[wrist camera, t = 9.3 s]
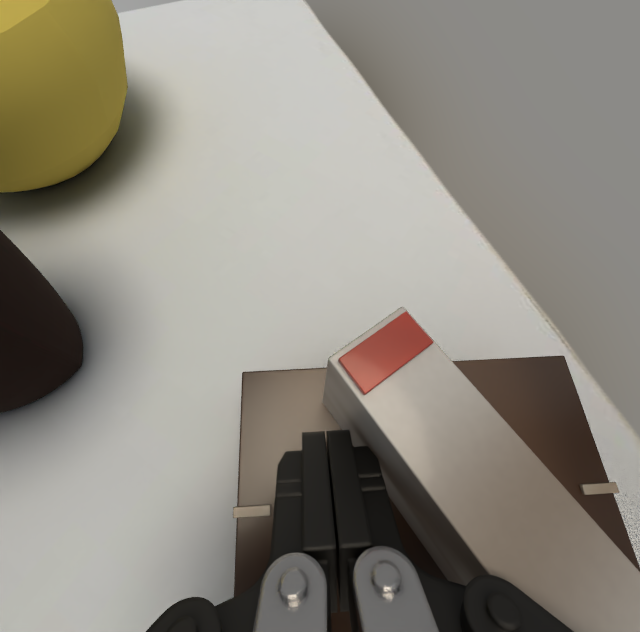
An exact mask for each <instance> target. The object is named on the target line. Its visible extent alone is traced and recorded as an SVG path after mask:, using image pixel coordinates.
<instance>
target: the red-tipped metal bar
mask: <svg viewBox="0 0 640 632" xmlns="http://www.w3.org/2000/svg"><path fill="white" fill-rule="evenodd" d="M323 403H324V405H325V406H326V408H327V409H328V410H329V412H330V413H331V415H332V416H333V418H334V419H335V420H336V422H337V423H338V425H339V426H340V428H341V429H342V430H349V431H350V435H351V440H352V445H353V446H354V447H359V446H368V447H369V448H370V450H371V451H372V452H373V453H374V454H375V456H376V457H377V458H378V461H379V464H380V468H381V471H382V476H383V478H384V482H385V485H386V490H387V492H388V496H389V497H390V499H391V500H392V502H393V503H394V504H395V506H396V507H397V509H398V510H399V511H400V513H401V514H402V516H403V517H404V519H405V520H406V521H407V523H408V524H409V526H410V527H411V529H412V530H413V531H414V533H415V534H416V536H417V537H418V539H419V540H420V541H421V543H422V544H423V546H424V547H425V548H426V550H427V551H428V553H429V554H430V556H431V557H432V558H433V560H434V561H435V563H436V564H437V566H438V567H439V568H440V570H441V571H442V573H443V574H444V576H445V577H446V578H447V580H448V581H451V582H454V583H458V584H461V585H465V586H467V584H468V583H469V582H470V581H471V580H472V579H473V578H475V577H477V576H480V575H492V576H497V577H500V578H502V579H504V580H506V581H508V582H510V583H512V584H513V585H514V586H516V587H517V588H519V589H520V590H521V591H522V592H524V593H525V594H526V595H528V596H529V597H530V598H531V599H533V600H534V601H535V602H536V603H538V604H539V605H540V606H542V607H543V608H544V609H545V610H547V611H548V612H549V613H551V614H552V615H553V616H554V617H556V618H557V619H558V620H560V621H561V622H562V623H563V624H565V625H566V626H567V627H569V628H570V629H571V630H572V631H574V632H640V572H639V571H638V570H637V568H636V567H635V566H634V565H633V564H632V563H631V562H630V561H629V559H628V558H627V557H626V556H625V555H624V554H623V553H622V552H621V550H620V549H619V548H618V547H617V546H616V545H615V544H614V543H613V541H612V540H611V539H610V538H609V537H608V536H607V535H606V534H605V532H604V531H603V530H602V529H601V528H600V527H599V526H598V525H597V524H596V522H595V521H594V520H593V519H592V518H591V517H590V516H589V515H588V513H587V512H586V511H585V510H584V509H583V508H582V507H581V506H580V504H579V503H578V502H577V501H576V500H575V499H574V498H573V497H572V495H571V494H570V493H569V492H568V491H567V490H566V489H565V488H564V486H563V485H562V484H561V483H560V482H559V481H558V480H557V479H556V478H555V476H554V475H553V474H552V473H551V472H550V471H549V470H548V469H547V467H546V466H545V465H544V464H543V463H542V462H541V461H540V460H539V458H538V457H537V456H536V455H535V454H534V453H533V452H532V451H531V449H530V448H529V447H528V446H527V445H526V444H525V443H524V442H523V440H522V439H521V438H520V437H519V436H518V435H517V434H516V433H515V432H514V430H513V429H512V428H511V427H510V426H509V425H508V424H507V423H506V421H505V420H504V419H503V418H502V417H501V416H500V415H499V414H498V412H497V411H496V410H495V409H494V408H493V407H492V406H491V405H490V403H489V402H488V401H487V400H486V399H485V398H484V397H483V396H482V394H481V393H480V392H479V391H478V390H477V389H476V388H475V387H474V386H473V384H472V383H471V382H470V381H469V380H468V379H467V378H466V377H465V375H464V374H463V373H462V372H461V371H460V370H459V369H458V368H457V366H456V365H455V364H454V363H453V362H452V361H451V360H450V359H449V357H448V356H447V355H446V354H445V353H444V352H443V351H442V350H441V348H440V347H439V346H438V345H437V344H436V343H435V342H434V341H433V339H432V338H431V337H430V336H429V335H428V334H427V333H426V332H425V331H424V329H423V328H422V327H421V326H420V325H419V324H418V323H417V322H416V320H415V319H414V318H413V317H412V316H411V315H410V314H409V313H408V311H407V310H406V309H405V308H404V307H401V308H399V309H398V310H396V311H395V312H394V313H392V314H391V315H389V316H388V317H386V318H385V319H384V320H382V321H381V322H379V323H378V324H376V325H375V326H374V327H372V328H371V329H369V330H368V331H366V332H365V333H364V334H362V335H361V336H359V337H358V338H356V339H355V340H353V341H352V342H351V343H349V344H348V345H346V346H345V347H343V348H342V349H341V350H339V351H338V352H336V353H335V354H333V355H332V356H331V357H329V359H328V365H327V372H326V379H325V386H324V394H323Z"/></svg>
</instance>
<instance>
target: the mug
mask: <svg viewBox="0 0 640 632" xmlns="http://www.w3.org/2000/svg"><path fill="white" fill-rule="evenodd" d="M82 357H83V343H82V336H81V332H80V329H79V326H78V324H77V322H76V320H75V318H74V316H73V315H72V313H71V312H70V310H69V309H68V307H67V306H66V304H65V303H64V302H63V300H62V299H61V297H60V296H59V295H58V293H57V292H56V291H55V290H54V288H53V287H52V286H51V284H50V283H49V282H48V281H47V280H46V278H45V277H44V276H43V275H42V274H41V273H40V272H39V270H38V269H37V268H36V267H35V266H34V265H33V264H32V263H31V262H30V260H29V259H28V258H27V257H26V256H25V255H24V254H23V253H22V252H21V251H20V250H19V249H18V248H17V247H16V246H15V245H14V244H13V242H12V241H11V240H10V239H9V238H8V237H7V236H6V235H5V234H4V233H3V232H2V231H1V230H0V413H1V412H6V411H9V410H13V409H16V408H19V407H22V406H25V405H27V404H29V403H32V402H34V401H36V400H38V399H40V398H42V397H44V396H45V395H47V394H49V393H50V392H52V391H53V390H55V389H56V388H58V387H59V386H60V385H62V384H63V383H64V382H66V381H67V380H68V379H69V378H70V377H71V376H72V375H73V374H74V373H75V372H76V371H77V370H78V369H79V368H80V367H81V365H82Z"/></svg>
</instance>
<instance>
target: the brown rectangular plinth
mask: <svg viewBox="0 0 640 632" xmlns="http://www.w3.org/2000/svg"><path fill="white" fill-rule="evenodd" d="M452 362H453V363H454V364H455V365H456V366H457V368H458V369H459V370H460V371H461V372H462V373H463V374H464V375H465V377H466V378H467V379H468V380H469V381H470V382H471V383H472V384H473V386H474V387H475V388H476V389H477V390H478V391H479V392H480V393H481V394H482V396H483V397H484V398H485V399H486V400H487V401H488V402H489V403H490V405H491V406H492V407H493V408H494V409H495V410H496V411H497V412H498V414H499V415H500V416H501V417H502V418H503V419H504V420H505V421H506V423H507V424H508V425H509V426H510V427H511V428H512V429H513V430H514V432H515V433H516V434H517V435H518V436H519V437H520V438H521V439H522V440H523V442H524V443H525V444H526V445H527V446H528V447H529V448H530V449H531V451H532V452H533V453H534V454H535V455H536V456H537V457H538V458H539V460H540V461H541V462H542V463H543V464H544V465H545V466H546V467H547V469H548V470H549V471H550V472H551V473H552V474H553V475H554V476H555V478H556V479H557V480H558V481H559V482H560V483H561V484H562V485H563V486H564V488H565V489H566V490H567V491H568V492H569V493H570V494H571V495H572V497H573V498H574V499H575V500H576V501H577V502H578V503H579V504H580V506H581V507H582V508H583V509H584V510H585V511H586V512H587V513H588V515H589V516H590V517H591V518H592V519H593V520H594V521H595V522H596V524H597V525H598V526H599V527H600V528H601V529H602V530H603V531H604V532H605V534H606V535H607V536H608V537H609V538H610V539H611V540H612V541H613V543H614V544H615V545H616V546H617V547H618V548H619V549H620V550H621V552H622V553H623V554H624V555H625V556H626V557H627V558H628V559H629V561H630V562H631V563H632V564H633V565H634V566H635V567H636V568H637V570H638V571H639V572H640V567H639V564H638V562H637V559H636V556H635V553H634V550H633V548H632V545H631V542H630V539H629V536H628V534H627V531H626V528H625V525H624V522H623V520H622V517H621V514H620V511H619V508H618V506H617V503H616V500H615V497H614V494H613V493H619V490H618V488H617V485H616V483H615V482H609V480H608V478H607V475H606V472H605V469H604V466H603V464H602V461H601V458H600V455H599V452H598V450H597V447H596V444H595V441H594V438H593V436H592V433H591V430H590V427H589V424H588V422H587V419H586V416H585V413H584V410H583V408H582V405H581V402H580V399H579V396H578V394H577V391H576V388H575V385H574V382H573V380H572V377H571V374H570V371H569V368H568V366H567V363H566V360H565V357H564V356H547V357H528V358H508V359H488V360H469V361H452ZM326 372H327V368H312V369H293V370H273V371H253V372H243V373H242V396H241V423H240V449H239V476H238V502H237V507H234V508H233V518H237V529H236V555H235V582H234V597H236V596H238V595H240V594H242V593H243V592H245V591H247V590H248V589H249V588H251V587H252V586H253V585H254V584H255V583H256V582H257V581H258V580H259V578H260V577H261V576H262V574H263V572H264V571H265V569H266V567H267V564H268V561H269V558H270V551H271V539H272V527H273V515H274V503H275V491H276V479H277V468H278V464H279V462H280V460H281V459H282V457H283V455H284V453H285V452H286V451H299V450H302V433H303V432H319V431H325V439H326V431H333V430H342V429H341V428H340V426H339V425H338V423H337V422H336V420H335V419H334V418H333V416H332V415H331V413H330V412H329V410H328V409H327V408H326V406H325V405H324V403H323V394H324V386H325V379H326ZM353 447H354V446H353ZM326 449H327V439H326ZM389 499H390V497H389ZM390 503H391V506H392V510H393V513H394V517H395V520H396V524H397V527H398V531H399V534H400V538H401V541H402V544H403V547H404V549H405V551H406V553H407V554H408V556H409V557H410V558H411V560H412V561H413V562H414V563H415V564H416V565H417V566H418V567H419V568H421V569H422V570H424V571H425V572H426V573H428V574H430V575H432V576H435V577H438V578H441V579H444V580H447V578H446V577H445V576H444V574H443V573H442V571H441V570H440V568H439V567H438V566H437V564H436V563H435V561H434V560H433V558H432V557H431V556H430V554H429V553H428V551H427V550H426V548H425V547H424V546H423V544H422V543H421V541H420V540H419V539H418V537H417V536H416V534H415V533H414V531H413V530H412V529H411V527H410V526H409V524H408V523H407V521H406V520H405V519H404V517H403V516H402V514H401V513H400V511H399V510H398V509H397V507H396V506H395V504H394V503H393V502H392V500H391V499H390ZM331 629H332V632H352V631H351V622H350V613H349V611H346V612H340V605H339V594H338V584H337V613H331Z"/></svg>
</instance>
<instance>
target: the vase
mask: <svg viewBox="0 0 640 632" xmlns="http://www.w3.org/2000/svg"><path fill="white" fill-rule="evenodd" d="M127 88H128V86H127V77H126V68H125V59H124V50H123V41H122V34H121V28H120V23H119V17H118V15H117V12H116V10H115V8H114V5H113V3H112V1H111V0H0V192H19V191H26V190H33V189H38V188H43V187H47V186H52V185H55V184H58V183H60V182H63V181H65V180H68V179H70V178H72V177H74V176H76V175H77V174H79V173H81V172H82V171H84V170H85V169H87V168H88V167H90V166H91V165H92V164H93V163H94V162H95V161H96V160H97V159H98V158H99V157H100V156H101V155H102V153H103V152H104V151H105V149H106V148H107V147H108V145H109V144H110V142H111V140H112V139H113V137H114V136H115V134H116V133H117V131H118V128H119V124H120V120H121V116H122V112H123V107H124V102H125V98H126V93H127Z"/></svg>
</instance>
